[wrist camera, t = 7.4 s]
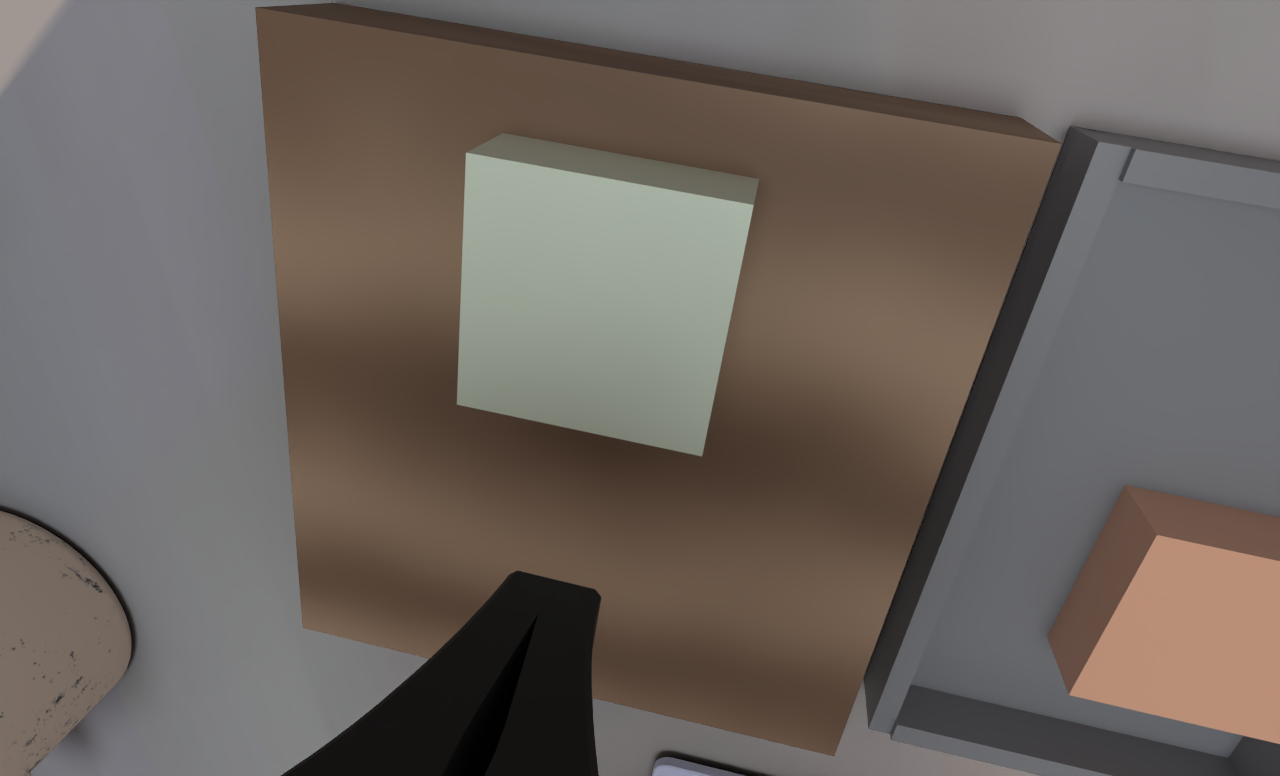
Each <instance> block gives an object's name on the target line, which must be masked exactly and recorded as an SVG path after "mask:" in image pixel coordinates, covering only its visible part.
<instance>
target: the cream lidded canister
mask: <svg viewBox="0 0 1280 776" xmlns="http://www.w3.org/2000/svg"><path fill="white" fill-rule="evenodd" d="M131 645H132V642H131V633H130V628H129V624H128V621H127V618H126V615H125V613H124V610H123V608H122V606H121V604H120V602H119V600H118V599H117V597H116V595H115V594H114V592H113V590H112V589H111V587H110V586H109V585H108V583H107V582H106V581H105V579H104V578H103V577H102V576H101V575H100V573H99V572H98V571H97V570H96V569H95V568H94V567H93V566H92V565H91V564H90V563H89V562H88V561H87V560H86V559H85V558H84V557H83V556H82V555H81V554H80V553H78V552H77V551H76V550H75V549H73V548H72V547H71V546H70V545H68V544H67V543H66V542H64V541H63V540H61V539H60V538H59V537H57V536H55V535H54V534H52V533H51V532H49V531H47V530H45V529H44V528H42V527H40V526H38V525H36V524H34V523H32V522H30V521H28V520H25V519H23V518H20V517H18V516H15V515H13V514H10V513H6V512H3V511H0V776H31V771H32V770H33V769H34V768H35V767H36V766H37V765H38V764H39V763H40V762H41V761H42V760H43V759H44V758H45V757H46V756H47V755H48V754H49V753H50V752H51V751H52V750H53V749H54V748H55V747H56V746H57V745H58V744H59V742H60V741H61V740H62V739H63V738H64V737H65V736H66V735H67V734H68V733H69V732H70V731H71V730H72V729H73V728H74V727H75V726H76V725H77V724H78V723H79V722H80V721H81V720H82V719H83V718H84V717H85V716H86V715H87V714H88V713H89V712H90V710H91V709H92V708H93V707H94V706H95V705H96V704H97V703H98V702H99V701H100V700H101V699H102V698H103V697H104V696H105V695H106V694H107V693H108V692H109V691H110V690H111V689H112V688H113V687H114V686H115V685H116V684H117V682H118V681H119V680H120V679H121V677H122V676H123V674H124V673H125V671H126V669H127V666H128V663H129V661H130V656H131Z"/></svg>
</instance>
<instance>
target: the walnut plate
mask: <svg viewBox="0 0 1280 776" xmlns="http://www.w3.org/2000/svg"><path fill="white" fill-rule="evenodd" d="M255 9H256V22H257V35H258V48H259V61H260V75H261V88H262V101H263V114H264V127H265V140H266V153H267V166H268V179H269V192H270V205H271V218H272V231H273V245H274V258H275V271H276V284H277V297H278V310H279V323H280V336H281V349H282V362H283V375H284V388H285V401H286V414H287V428H288V441H289V454H290V467H291V480H292V493H293V506H294V519H295V532H296V545H297V558H298V571H299V584H300V597H301V611H302V624H303V628H306V629H310V630H314V631H319V632H323V633H327V634H331V635H335V636H339V637H343V638H347V639H352V640H356V641H360V642H364V643H368V644H372V645H376V646H381V647H385V648H389V649H393V650H397V651H401V652H405V653H409V654H414V655H418V656H422V657H426V658H431V657H432V656H433V655H434V654H435V653H436V652H437V651H438V650H439V649H440V648H441V647H442V646H443V645H444V644H445V643H446V642H447V641H449V640H450V639H451V638H452V637H453V636H454V635H455V634H456V633H457V632H458V631H459V630H460V629H461V628H462V627H463V626H464V625H465V624H466V623H467V622H468V620H469V619H470V618H471V617H472V616H473V615H474V614H475V613H476V612H477V611H478V610H479V609H480V608H481V607H482V606H483V605H484V604H485V602H486V601H487V600H488V599H489V598H490V597H491V596H492V595H493V593H494V592H495V591H496V590H497V589H498V588H499V586H500V585H501V584H502V583H503V582H504V580H505V579H506V578H507V577H508V575H509V574H511V573H513V572H515V571H517V570H518V571H522V572H526V573H530V574H534V575H538V576H543V577H547V578H551V579H555V580H559V581H563V582H567V583H572V584H576V585H580V586H584V587H588V588H592V589H596V591H597V592H598V593H599V594H600V596H601V603H600V609H599V614H598V620H597V626H596V632H595V638H594V643H593V649H592V698H595V699H600V700H604V701H608V702H612V703H616V704H620V705H624V706H628V707H633V708H637V709H641V710H645V711H649V712H653V713H657V714H661V715H666V716H670V717H674V718H678V719H682V720H686V721H690V722H695V723H699V724H703V725H707V726H711V727H715V728H719V729H723V730H728V731H732V732H736V733H740V734H744V735H748V736H752V737H757V738H761V739H765V740H769V741H773V742H777V743H781V744H785V745H790V746H794V747H798V748H802V749H806V750H810V751H814V752H819V753H823V754H827V755H831V756H834V755H835V753H836V750H837V747H838V744H839V742H840V739H841V736H842V734H843V731H844V728H845V726H846V723H847V720H848V718H849V715H850V712H851V709H852V707H853V704H854V701H855V699H856V696H857V693H858V691H859V688H860V685H861V683H862V680H863V677H864V675H865V672H866V669H867V666H868V664H869V661H870V658H871V656H872V653H873V650H874V648H875V645H876V642H877V640H878V637H879V634H880V631H881V629H882V626H883V623H884V621H885V618H886V615H887V613H888V610H889V607H890V605H891V602H892V599H893V597H894V594H895V591H896V588H897V586H898V583H899V580H900V578H901V575H902V572H903V570H904V567H905V564H906V562H907V559H908V556H909V553H910V551H911V548H912V545H913V543H914V540H915V537H916V535H917V532H918V529H919V527H920V524H921V521H922V519H923V516H924V513H925V510H926V508H927V505H928V502H929V500H930V497H931V494H932V492H933V489H934V486H935V484H936V481H937V478H938V476H939V473H940V470H941V467H942V465H943V462H944V459H945V457H946V454H947V451H948V449H949V446H950V443H951V441H952V438H953V435H954V432H955V430H956V427H957V424H958V422H959V419H960V416H961V414H962V411H963V408H964V406H965V403H966V400H967V398H968V395H969V392H970V389H971V387H972V384H973V381H974V379H975V376H976V373H977V371H978V368H979V365H980V363H981V360H982V357H983V354H984V352H985V349H986V346H987V344H988V341H989V338H990V336H991V333H992V330H993V328H994V325H995V322H996V320H997V317H998V314H999V311H1000V309H1001V306H1002V303H1003V301H1004V298H1005V295H1006V293H1007V290H1008V287H1009V285H1010V282H1011V279H1012V276H1013V274H1014V271H1015V268H1016V266H1017V263H1018V260H1019V258H1020V255H1021V252H1022V250H1023V247H1024V244H1025V242H1026V239H1027V236H1028V233H1029V231H1030V228H1031V225H1032V223H1033V220H1034V217H1035V215H1036V212H1037V209H1038V207H1039V204H1040V201H1041V199H1042V196H1043V193H1044V190H1045V188H1046V185H1047V182H1048V180H1049V177H1050V174H1051V172H1052V169H1053V166H1054V164H1055V161H1056V158H1057V155H1058V153H1059V150H1060V147H1061V145H1062V144H1061V143H1059V142H1058V141H1056V140H1055V139H1053V138H1052V137H1050V136H1048V135H1047V134H1045V133H1044V132H1042V131H1041V130H1039V129H1037V128H1036V127H1034V126H1033V125H1031V124H1030V123H1028V122H1026V121H1025V120H1023V119H1022V118H1019V117H1013V116H1007V115H1001V114H995V113H989V112H983V111H977V110H971V109H965V108H959V107H953V106H947V105H941V104H935V103H929V102H923V101H917V100H911V99H905V98H899V97H893V96H887V95H881V94H875V93H869V92H863V91H857V90H851V89H845V88H839V87H833V86H827V85H822V84H816V83H810V82H804V81H798V80H792V79H786V78H780V77H774V76H768V75H762V74H756V73H750V72H744V71H738V70H732V69H726V68H720V67H714V66H708V65H702V64H696V63H690V62H684V61H678V60H672V59H666V58H660V57H654V56H648V55H642V54H636V53H630V52H624V51H618V50H612V49H606V48H600V47H594V46H588V45H582V44H576V43H570V42H564V41H558V40H553V39H547V38H541V37H535V36H529V35H523V34H517V33H511V32H505V31H499V30H493V29H487V28H481V27H475V26H469V25H463V24H457V23H451V22H445V21H439V20H433V19H427V18H421V17H415V16H409V15H403V14H397V13H391V12H385V11H379V10H373V9H367V8H361V7H355V6H349V5H343V4H337V3H326V4H308V5H290V6H272V7H255ZM502 133H506V134H511V135H517V136H522V137H528V138H534V139H539V140H545V141H550V142H556V143H562V144H567V145H573V146H578V147H584V148H589V149H595V150H601V151H606V152H612V153H617V154H623V155H629V156H634V157H640V158H645V159H651V160H656V161H662V162H668V163H673V164H679V165H684V166H690V167H696V168H701V169H707V170H712V171H718V172H723V173H729V174H735V175H740V176H746V177H751V178H757V179H759V182H758V187H757V192H756V197H755V202H754V207H753V211H752V216H751V221H750V226H749V231H748V236H747V241H746V245H745V250H744V255H743V260H742V265H741V270H740V275H739V280H738V284H737V289H736V294H735V299H734V304H733V309H732V314H731V318H730V323H729V328H728V333H727V338H726V343H725V348H724V353H723V357H722V362H721V367H720V372H719V377H718V382H717V387H716V391H715V396H714V401H713V406H712V411H711V416H710V421H709V426H708V430H707V435H706V440H705V445H704V450H703V455H702V456H698V455H693V454H688V453H684V452H679V451H674V450H669V449H665V448H660V447H655V446H650V445H646V444H641V443H636V442H632V441H627V440H622V439H617V438H613V437H608V436H603V435H598V434H594V433H589V432H584V431H580V430H575V429H570V428H565V427H561V426H556V425H551V424H547V423H542V422H537V421H532V420H528V419H523V418H518V417H513V416H509V415H504V414H499V413H495V412H490V411H485V410H480V409H476V408H471V407H466V406H461V405H457V385H458V357H459V330H460V302H461V275H462V247H463V220H464V192H465V165H466V152H468V151H470V150H472V149H474V148H476V147H478V146H480V145H481V144H483V143H485V142H487V141H489V140H491V139H493V138H495V137H497V136H499V135H501V134H502Z"/></svg>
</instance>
